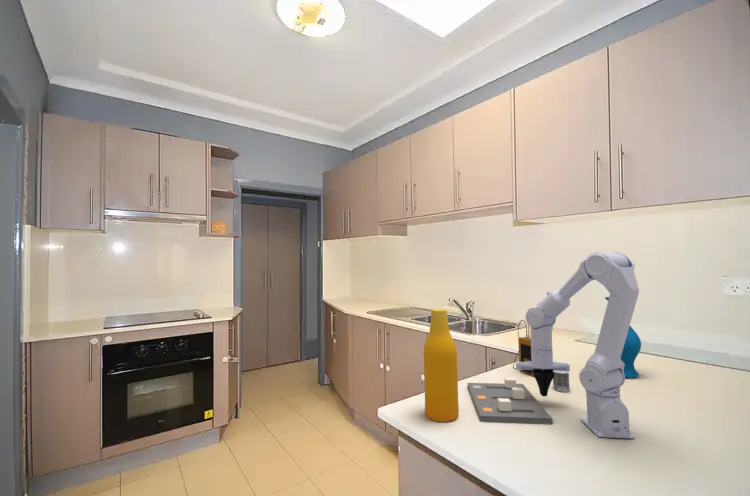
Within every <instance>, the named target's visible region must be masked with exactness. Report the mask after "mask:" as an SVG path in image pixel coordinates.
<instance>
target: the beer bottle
mask: <svg viewBox="0 0 750 496" xmlns="http://www.w3.org/2000/svg"><path fill="white" fill-rule="evenodd" d="M430 312H431V313H430V326H429V332H428V335H427V337H426V340H425V342H424V346H423V375H424V378H423V380H424V412H425V413H424V414H425V415H426V418H428V419H430V420H432V421H434V422H439V423H449V422H453V421H456V420H457V419H458V417H459V415H460V409H459V408H460V407H459V387H458V385H459V383H458V377H459V376H458V352H457V351H458V350H457V347H456V343H455V341H454V338H453V337H452V334H451V332H450V327H449V320H448V319H449V318H448V312H447V309H441V308H439V309H438V308H433V309H431V311H430Z"/></svg>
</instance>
